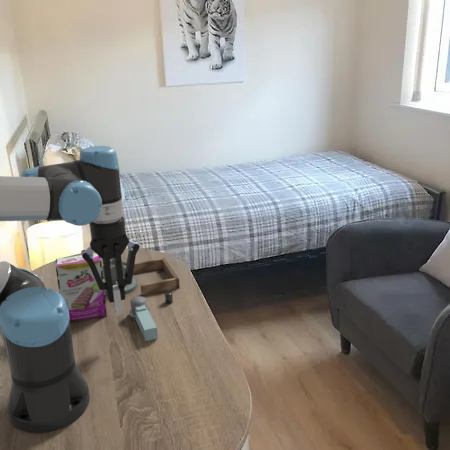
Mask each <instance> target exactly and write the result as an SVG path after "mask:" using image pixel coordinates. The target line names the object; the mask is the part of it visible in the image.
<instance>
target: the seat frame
mask: <svg viewBox="0 0 450 450" xmlns="http://www.w3.org/2000/svg"><path fill="white" fill-rule="evenodd" d="M153 270H156V273H158V274H159V273H160V274H161V273H163V271H164V272H165V274H166V276H167V277H168V278H166V279H162V280H161V279H160V280H158V281H157V280H156V281H151V282H146V283H142V284H140V292H141V293H140V294H141V296H146V295H152V294H158V293H161V292H168V291H171V290H176V289H180V286H181V285H180V278H179V276H178V275H177V273H176V272H175V271H174V270H173V268H172V267H171V265H170V264H169V262H168V261H167V259H166V258H165V257H160V258H155V259H150V260H143V261H137V262H135V264H134V271H133V274H138V273H144V272H149V271H150V272H151V271H153Z"/></svg>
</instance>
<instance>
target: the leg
mask: <svg viewBox="0 0 450 450" xmlns="http://www.w3.org/2000/svg"><path fill="white" fill-rule="evenodd" d="M147 308H148V307H147V298H146V297H145V296H134V297H132V298H131V299H130V310H131V312H132V313H133V314H136V320H135V321H136V322H137V326H138V328H139V330H140V331H141V332H140V333H141V335H142V337H143V339H144V342H148V341H152V340H156V339H158V337H159V335H158V327H157V325H156V323H155V321H154V319H153V317H152V315H151V313H150V310H149V311H148V309H149V308H148V309H147Z"/></svg>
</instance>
